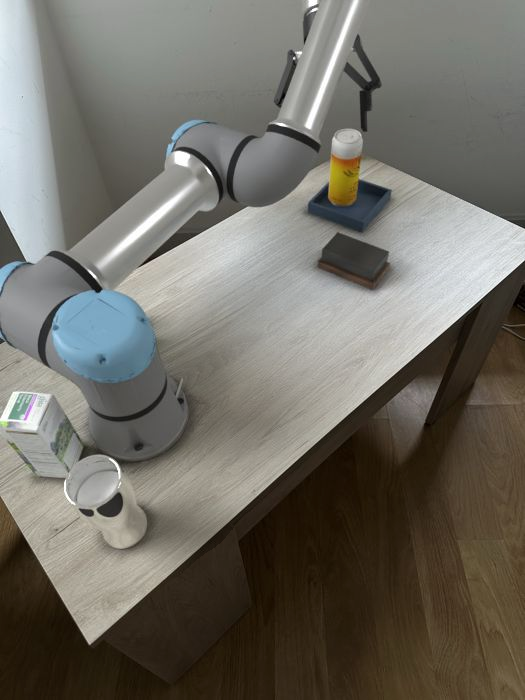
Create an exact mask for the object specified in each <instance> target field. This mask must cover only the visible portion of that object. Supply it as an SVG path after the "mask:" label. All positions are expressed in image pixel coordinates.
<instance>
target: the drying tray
mask: <svg viewBox="0 0 525 700" xmlns="http://www.w3.org/2000/svg"><path fill="white" fill-rule="evenodd" d="M392 192H393V189H391V188H387V187H385V186H382V185H379V184H376V183H372V182H370V181H366V180H364V179H361V178H359V179H358V188H357V197H356V200H355V201H354V202H353V203H352V204H351V205H349V206H347V207H338V206H335V205H334V204H332V203H331V201H330V200H329V198H328V193H329V181H328V182H327V183H326V184H325V185H324V186H323V187H322V188H321V189H320V190H319V191H318V192H316V194H315V195H314V196H313V197H312V198H311V199H310V200H308V202H307V214H311V215H314V216H316V217H319V218H321V219H324V220H327V221H330V222H331V223H335V224H337V225H341V226H343V227H345V228H348V229H351V230H353V231H356V232H359V233H362V234H363V233H364V231H365V230H367V228H368V227H369V226H370V224H371V223H372V222H373V221H374V220H375V219H376V217H377V216H378V215H379V214H380V213H381V211H383V209H384V208H385V207H386V206H387V204H388V203H389V202H390V201H391V197H392Z"/></svg>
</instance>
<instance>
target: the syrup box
mask: <svg viewBox="0 0 525 700" xmlns="http://www.w3.org/2000/svg"><path fill="white" fill-rule="evenodd" d="M0 436H2V437H3V439H4V440H5V441H6V442H7V443H8V444H9V446H10V447H11V449H13V450H14V452H15V453H16V454H17V455H18V456H19V457H20V459H21V460H23V462H24V464H25V465H26V466H27V467H28V468H29V469H30V470H31V472H32V473H33V475H34V476H36V477H45V478H58V479H59V478H60V479H66V477H67V475H68V473H69V471H70V470H71V468H72V467H73V466H74V465H75V464H76V463H78V462H79V461H80V460H81V459H80V458H81V456H82V453H83V451H84V447H85V443H84V442H83V440H82V439H81V437H80V435H79V433H78V432H77V430H76V429H75V427H74V426H73V424H72V422H71V421H70V419H69V417H68V415H67V414H66V412H65V411H64V409H63V407H62V405H61V404H60V403H59V401H58V399H57V397H56V396H55V394H52V393H44V392H43V393H42V392H36V391H35V392H33V391H12V394H11V396H10V398H9V400H8V402H7V404H6V405H5V408H4V410H3V413H2V414H1V416H0Z"/></svg>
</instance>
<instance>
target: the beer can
mask: <svg viewBox="0 0 525 700" xmlns="http://www.w3.org/2000/svg"><path fill="white" fill-rule="evenodd" d="M333 135H334V136H333V137H332V139H331V149H330V164H329V165H330V166H329V178H328V179H329V180H328V182H329V193H328V198H329V200H330V201H331V203H332V204H334V205H335V206H338V207H347V206H349V205H351V204H352V203H353V202H354V201H355V200H356V197H357V188H358V179H360V171H361V161H362V152H363V144H364V140H363V136H362V133H361V132H360V131H359V130H357V129H354V128H342V129H338V130H337V131H336V132H335V133H334V134H333Z"/></svg>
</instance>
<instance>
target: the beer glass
mask: <svg viewBox="0 0 525 700" xmlns="http://www.w3.org/2000/svg"><path fill="white" fill-rule="evenodd" d="M63 489H64V494H65V496H66V498H67V500H68V501H69V503H70V504H71V506H72V508H73V510H74V511H75V512H76V513H77V516H79V518H81V520H83V522H85V523H86V524H88V525H89V526H90V527H92V528H94V529H96V530H98V531H100V532H101V533H102V537H103V539H104V541H105V542H106V543H107V544H108V545H109V546H110V547H112V548H115V549H118V550H119V549H120V550H122V549H128V548H131V547H134V546H135V545H136V544H138V543H139V542H140V541H141V540H142V539H143V537H144V536H145V534H146V531H147V528H148V519H147V515H146V513H145V511H144V510H143V509H142V508H141V507H140V506H139V505H137V497H136V493H135V489H134V486H133V483H132V481H131V479H130V478H129V476H128V474H127V473H126V472H125V470H124V469H123V468H122V467H121V465H120V464H119V463H118V460H117V459H114V458H112V457H110V456H108V455H106V454H92V455H88V456H86V457H84V458H82V459H79V462H78V463H76V464H75V465H74V466H73V467H72V468H71V470H70V471H69V473H68V475H67V477H66V478H65V480H64V485H63Z"/></svg>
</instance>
